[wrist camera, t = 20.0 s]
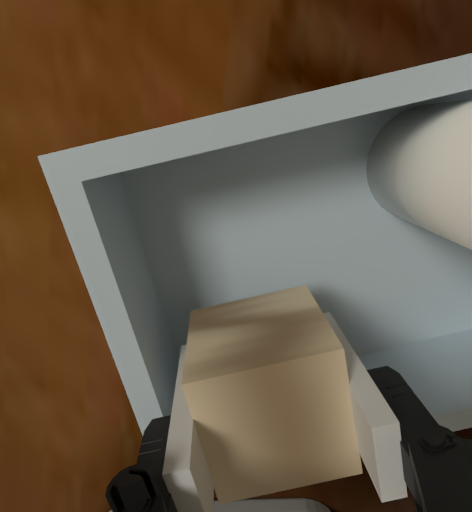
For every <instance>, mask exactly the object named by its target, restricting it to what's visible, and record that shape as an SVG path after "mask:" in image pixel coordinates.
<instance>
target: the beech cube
mask: <svg viewBox="0 0 472 512" xmlns="http://www.w3.org/2000/svg"><path fill="white" fill-rule="evenodd" d="M348 384H349V378H348V372H347V365H346V359H345V352H344V348H343V346H342V344H341V343H340V341H339V339H338V338H337V336H336V334H335V333H334V331H333V329H332V327H331V326H330V324H329V322H328V321H327V319H326V317H325V316H324V314H323V312H322V311H321V309H320V307H319V306H318V304H317V302H316V301H315V299H314V297H313V295H312V294H311V292H310V290H309V289H308V287H307V285H303V286H298V287H294V288H290V289H285V290H281V291H276V292H272V293H267V294H263V295H259V296H254V297H250V298H245V299H241V300H236V301H232V302H228V303H223V304H219V305H214V306H210V307H205V308H201V309H197V310H192V311H191V313H190V320H189V328H188V336H187V344H186V352H185V360H184V368H183V376H182V384H181V385H182V388H183V391H184V394H185V398H186V401H187V404H188V407H189V410H190V413H191V416H192V419H193V420H194V423H195V426H196V429H197V432H198V435H199V439H200V442H201V445H202V448H203V451H204V454H205V457H206V460H207V463H208V467H209V470H210V473H211V476H212V479H213V482H214V489H215V492H216V495H217V498H218V501H219V505H220V504H224V503H229V502H233V501H238V500H243V499H247V498H252V497H256V496H261V495H266V494H270V493H275V492H279V491H284V490H289V489H293V488H298V487H303V486H307V485H312V484H316V483H321V482H326V481H330V480H335V479H339V478H344V477H349V476H353V475H358V474H362V473H363V471H362V465H361V458H360V453H359V451H358V445H357V438H356V432H355V425H354V419H353V412H352V406H351V400H350V393H349V387H348Z"/></svg>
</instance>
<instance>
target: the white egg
mask: <svg viewBox="0 0 472 512" xmlns="http://www.w3.org/2000/svg"><path fill="white" fill-rule="evenodd" d="M366 172H367V181H368V185H369V188H370V191H371V193H372V195H373V197H374V198H375V200H376V201H377V203H378V204H379V205H380V206H381V207H382V208H384V209H385V210H386V211H388V212H389V213H391V214H393V215H395V216H398V217H400V218H402V219H404V220H406V221H409V222H411V223H413V224H415V225H417V226H420V227H422V228H424V229H426V230H428V231H431V232H433V233H435V234H437V235H439V236H442V237H444V238H446V239H448V240H450V241H453V242H455V243H457V244H459V245H461V246H464V247H466V248H468V249H470V250H472V99H467V100H460V101H452V102H444V103H436V104H428V105H421V106H416V107H412V108H409V109H407V110H405V111H403V112H401V113H399V114H398V115H396V116H395V117H393V118H392V119H391V120H390V121H389V122H388V123H387V124H386V125H385V126H384V127H383V128H382V129H381V130H380V132H379V133H378V135H377V136H376V138H375V140H374V142H373V144H372V146H371V148H370V151H369V154H368V159H367V168H366Z"/></svg>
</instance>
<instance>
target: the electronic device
mask: <svg viewBox="0 0 472 512" xmlns="http://www.w3.org/2000/svg"><path fill="white" fill-rule="evenodd" d="M109 512H112V509H111V510H110V511H109ZM214 512H331V511H330V510H329V508H328V507H326V506H325V505H323V504H322V503H320V502H318V501H315V500H312V499H308V498H253V499H243V500H238V501H233V502H229V503H224V504H220V505H219V501H218V500H214Z"/></svg>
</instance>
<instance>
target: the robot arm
mask: <svg viewBox="0 0 472 512" xmlns="http://www.w3.org/2000/svg"><path fill="white" fill-rule="evenodd" d="M323 314H324V316H325V317H326V319H327V321H328V322H329V324H330V326H331V327H332V329H333V331H334V333H335V334H336V336H337V338H338V339H339V341H340V343H341V344H342V346H343V348H344V352H345V359H346V365H347V372H348V378H349V384H348V387H349V393H350V400H351V406H352V412H353V419H354V425H355V432H356V438H357V445H358V451H359V453H360V455H361V457H362V460H363V462H364V464H365V466H366V469H367V471H368V473H369V475H370V478H371V480H372V482H373V484H374V486H375V489H376V491H377V493H378V495H379V498H380V500H381V502H387V501H392V500H396V499H401V498H405V497H408V496H407V487H406V484H407V486H408V488H409V490H410V492H411V493H412V495H413V497H414V504H415V512H472V440H471V439H464V438H461V437H458V436H457V435H456V434H455V433H454V432H452V431H451V430H450V429H448V428H446V427H443V426H441V425H439V424H438V423H437V422H436V420H435V419H434V418H433V417H432V415H431V414H430V413H429V411H428V410H427V409H426V407H425V406H424V405H423V403H422V402H421V401H420V399H419V398H418V397H417V396H416V394H415V393H414V392H413V390H412V389H411V388H410V386H409V385H407V382H406V381H405V380H404V378H403V377H402V376H401V374H400V373H399V372H397V371H395V370H394V369H392V368H390V367H389V366H383V367H379V368H374V369H370V370H366V369H365V367H364V366H363V364H362V362H361V361H360V359H359V358H358V356H357V354H356V353H355V351H354V350H353V348H352V347H351V345H350V343H349V342H348V340H347V339H346V337H345V336H344V334H343V332H342V331H341V329H340V328H339V326H338V324H337V323H336V321H335V320H334V318H333V317H332V315H331V313H330V312H327V313H323ZM185 352H186V345H182V346H181V352H180V359H179V365H178V372H177V379H176V385H175V392H174V399H173V406H172V412H171V415H169V416H164V417H160V418H155V419H152V420H151V422H150V423H149V425H148V426H147V428H146V429H145V431H144V434H143V438H142V443H141V444H142V445H141V447H140V451H139V456H138V460H137V464H136V465H133V466H129V467H127V468H126V469H124V470H122V471H120V472H119V473H118V474H117V475H116V476H115V477H114V478H113V479H112V480H111V482H110V484H109V485H108V487H107V490H106V495H105V496H106V498H107V500H108V503H109V505H110V507H111V509H112V512H214V482H213V479H212V476H211V473H210V470H209V467H208V463H207V460H206V457H205V454H204V451H203V448H202V445H201V442H200V439H199V435H198V432H197V429H196V426H195V423H194V420H193V419H192V416H191V413H190V410H189V407H188V404H187V401H186V398H185V394H184V391H183V388H182V385H181V384H182V376H183V368H184V360H185Z"/></svg>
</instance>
